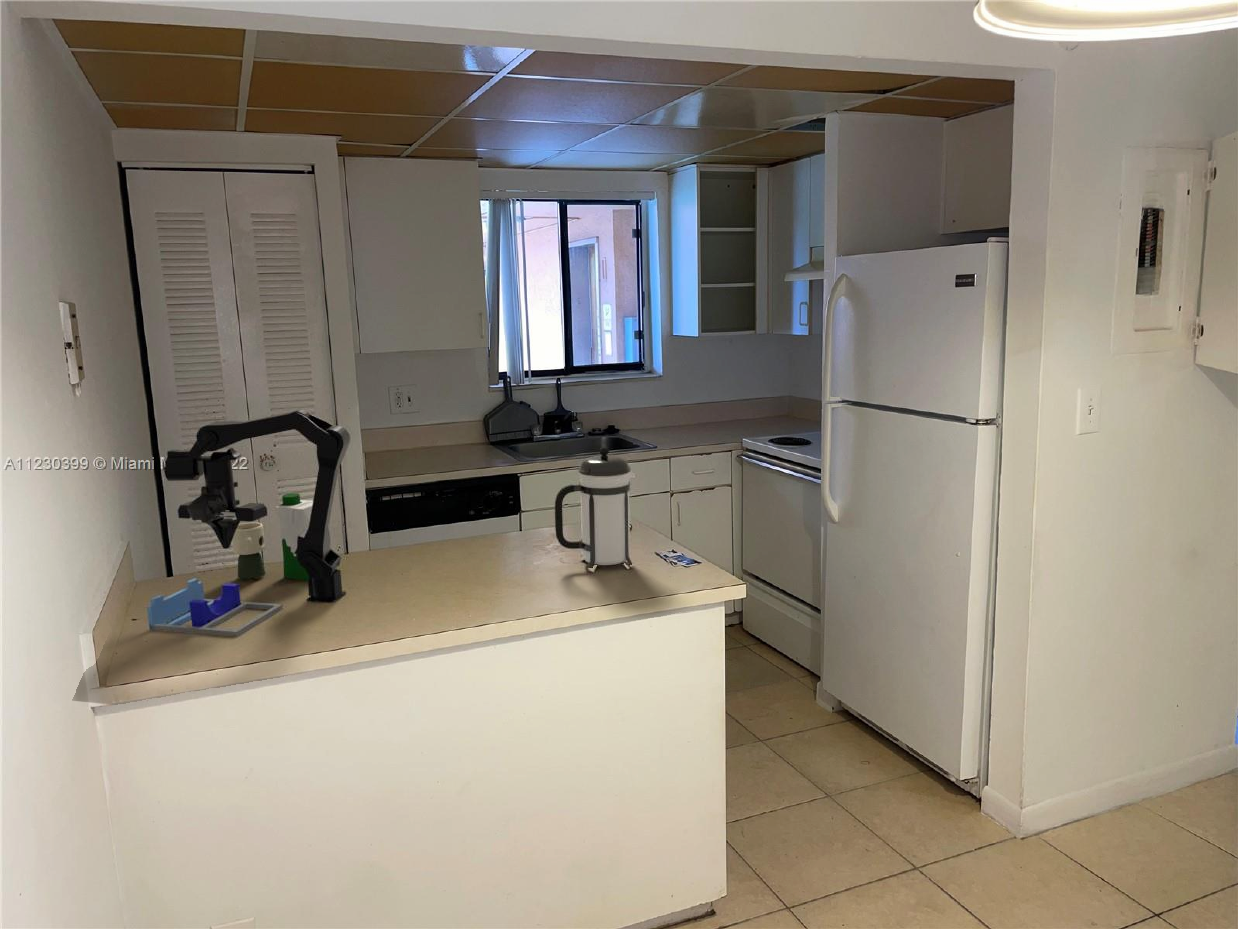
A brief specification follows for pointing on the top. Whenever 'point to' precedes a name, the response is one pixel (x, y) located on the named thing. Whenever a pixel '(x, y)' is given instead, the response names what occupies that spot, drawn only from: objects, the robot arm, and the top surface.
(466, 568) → the top surface
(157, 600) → the blue grey rack
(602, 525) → the coffee press
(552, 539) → the top surface
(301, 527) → the milk carton
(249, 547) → the character mug
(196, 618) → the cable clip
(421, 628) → the top surface
